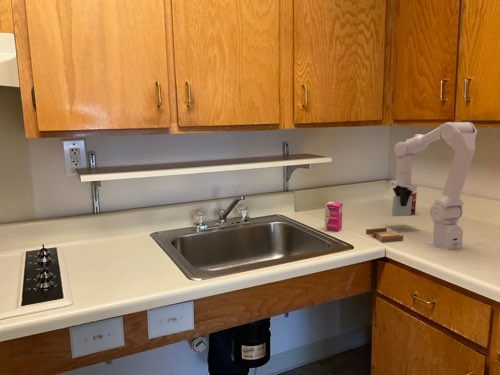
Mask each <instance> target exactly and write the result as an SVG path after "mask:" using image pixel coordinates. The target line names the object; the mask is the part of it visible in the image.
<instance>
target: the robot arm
mask: <svg viewBox="0 0 500 375" xmlns="http://www.w3.org/2000/svg"><path fill="white" fill-rule="evenodd" d="M477 134H478V130H477V128H476V127H475V125H474V123H472V122H470V121H464V122H462V121H461V122H458V121H457V122H452V121H448V122H444V123H442V124H440V125H439V126H438V127H436V128H435V129H433V130H431V131H430V132H427V133H426V134H420V133H416V134H414V137H412V138H406V140H405V141H398V142H397V143H396V144H395V145H394V150H393V151H394V154H395V156H396V173H395V180H390V186H394V187H392V190H393V192H394V194H395V195H394V196H400V203H401V206H406V205H407V202H408V200H409V197H410V195H411V194H412V192H413V191H416V192H417V190H418V186H417V185H415V184H414V183H412V171H413V161H414V159H415V156H416V154H417V153H418V152H421V151H422V150H425V149H427V148H428V147H429V144H430V143H434V142H436V141H438V140H441V139H442V140H443V141H444V142H445V143H446V144H447V145H448V146H449V147H450V148H452V150H453V151H454V155H453V156H454V157H453V159H452V161H451V165H450V168H449V171H448V175H447V177H446V178H447V179H446V181H445V184H444V187H443V191H442V194H441V195H440V196H438V197H437V198H436V199H435V200H434V203H433V204H432V205H431V206H430V209H429V214H430V218H431V219H432V222H433V234H432V241H427V243H428V244H431V245H433V246H435V247H437V248H440V249H442V250H444V251H447V250H456V249H464V247H463V238H464V237H463V235H464V231H463V228H462V227H460V226H459V225H458V222H459V219H461V218H462V216H463V211H464V210H463V206H464V201H462V199H461V195H462V192H463V188H464V185H465V183H466V179H467V176H468V173H469V170H470V166H471V164H472V161H473V158H474V155H475V153H476V137H477Z"/></svg>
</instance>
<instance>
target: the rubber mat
mask: <svg viewBox="0 0 500 375" xmlns="http://www.w3.org/2000/svg"><path fill="white" fill-rule="evenodd" d="M384 228H387V229H390V230H391V231H394V232H395V233H397V234H400V233H411V232H421V230H420V229H417V228H415V227H413V226H410V225H408V224H396V225H395V224H393V225H385V226H384Z"/></svg>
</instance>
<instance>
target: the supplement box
mask: <svg viewBox="0 0 500 375" xmlns="http://www.w3.org/2000/svg"><path fill="white" fill-rule="evenodd" d="M343 205H344V204H343V203H342V202H334V201H328V202H326V204H325V208H324V209H325V210H324V214H325V215H324V231H328V232H336V233H339V232H340V231H341V230H342V229H343V228H342V227H343V224H342V223H343Z"/></svg>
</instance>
